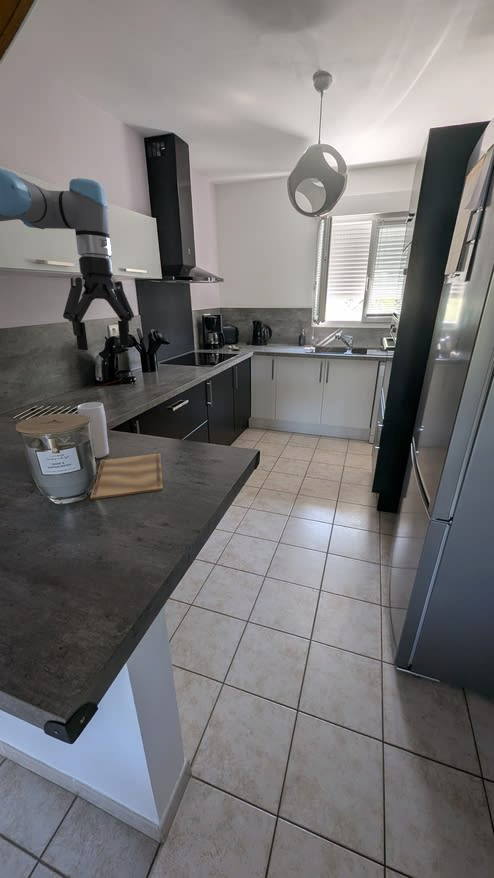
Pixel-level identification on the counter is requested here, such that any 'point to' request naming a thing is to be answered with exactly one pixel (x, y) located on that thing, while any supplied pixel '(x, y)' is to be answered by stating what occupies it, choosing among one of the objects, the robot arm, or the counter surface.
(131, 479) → the wooden cutting board
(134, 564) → the counter surface
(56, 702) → the counter surface
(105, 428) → the drinking glass
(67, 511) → the counter surface
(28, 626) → the counter surface
